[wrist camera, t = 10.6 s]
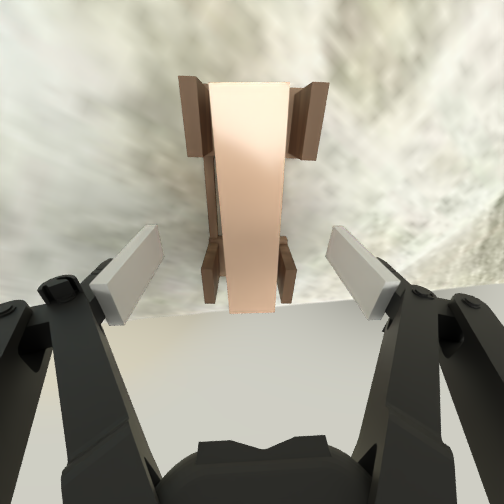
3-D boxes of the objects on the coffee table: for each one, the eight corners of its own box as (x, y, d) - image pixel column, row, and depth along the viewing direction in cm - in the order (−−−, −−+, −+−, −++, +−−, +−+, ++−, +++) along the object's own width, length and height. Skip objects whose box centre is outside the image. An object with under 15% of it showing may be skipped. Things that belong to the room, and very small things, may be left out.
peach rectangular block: (233, 271, 30) (229, 313, 23) (221, 99, 19) (208, 82, 13) (267, 270, 30) (274, 312, 23) (273, 98, 20) (290, 82, 13)
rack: (212, 271, 31) (205, 306, 25) (197, 85, 20) (176, 65, 14) (281, 271, 32) (290, 306, 25) (304, 90, 20) (331, 73, 14)
